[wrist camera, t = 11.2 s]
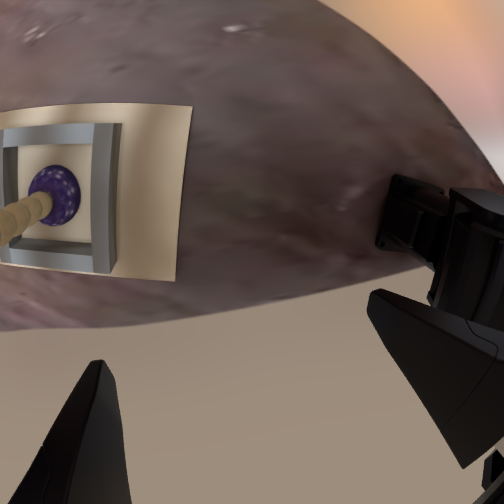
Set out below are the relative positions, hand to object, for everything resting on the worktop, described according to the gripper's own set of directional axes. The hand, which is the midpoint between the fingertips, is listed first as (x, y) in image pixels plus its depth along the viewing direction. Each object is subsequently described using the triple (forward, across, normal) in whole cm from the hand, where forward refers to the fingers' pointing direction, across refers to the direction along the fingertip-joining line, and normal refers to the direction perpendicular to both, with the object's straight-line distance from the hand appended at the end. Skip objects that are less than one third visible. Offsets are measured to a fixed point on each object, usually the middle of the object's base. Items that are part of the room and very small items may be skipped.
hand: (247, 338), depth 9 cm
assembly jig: (+14, +9, -3) cm, 17 cm away
